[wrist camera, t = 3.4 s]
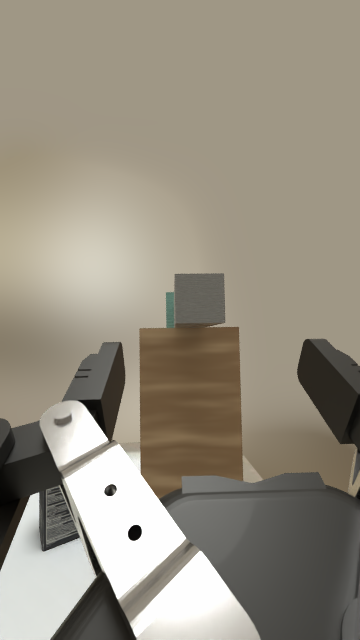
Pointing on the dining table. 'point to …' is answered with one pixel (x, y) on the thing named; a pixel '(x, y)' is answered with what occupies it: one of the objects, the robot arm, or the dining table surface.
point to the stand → (189, 405)
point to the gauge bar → (196, 301)
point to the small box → (55, 519)
